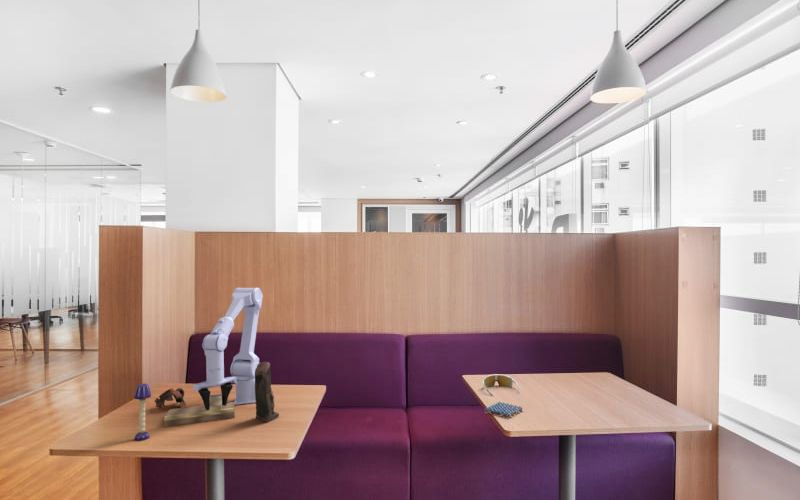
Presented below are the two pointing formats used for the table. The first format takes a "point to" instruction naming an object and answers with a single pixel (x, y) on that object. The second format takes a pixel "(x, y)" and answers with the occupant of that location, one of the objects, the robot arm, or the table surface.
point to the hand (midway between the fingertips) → (215, 407)
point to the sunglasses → (501, 379)
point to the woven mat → (503, 410)
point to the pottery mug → (167, 396)
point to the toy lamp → (142, 410)
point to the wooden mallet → (215, 402)
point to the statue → (264, 393)
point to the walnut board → (198, 414)
